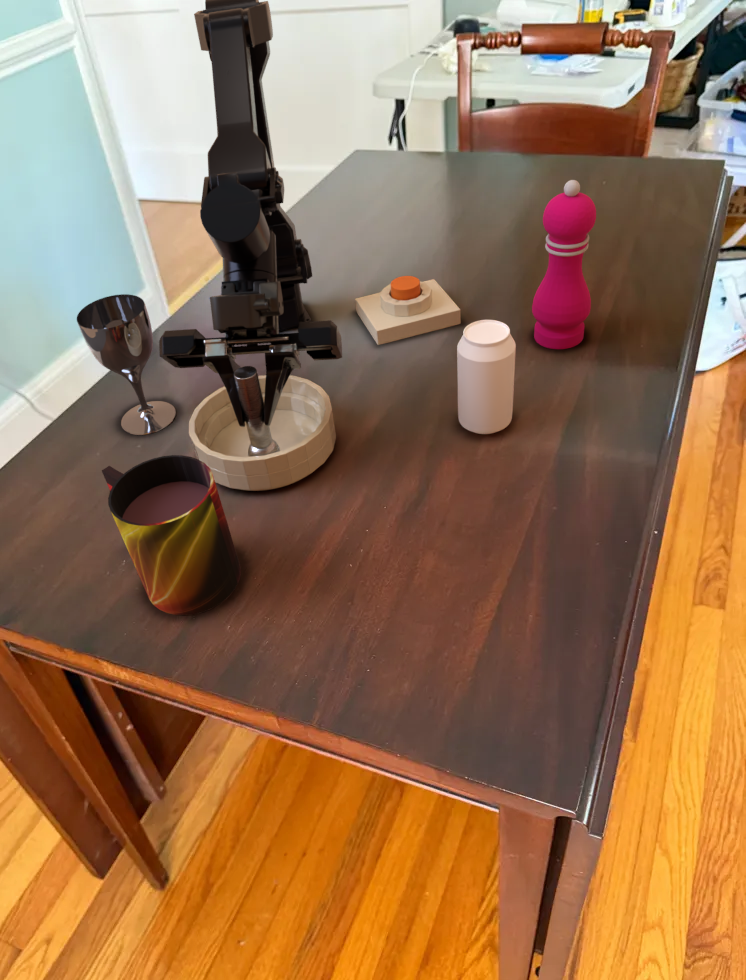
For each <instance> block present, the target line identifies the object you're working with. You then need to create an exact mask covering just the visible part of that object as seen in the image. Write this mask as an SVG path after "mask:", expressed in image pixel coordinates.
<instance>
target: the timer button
mask: <svg viewBox="0 0 746 980" xmlns="http://www.w3.org/2000/svg"><path fill="white" fill-rule="evenodd" d="M420 281H421V280H420V278H418V277H416V276H413V275H402V276H398V277H396V278H394V279H392V280H391V282H390V284H391V296H392V298H393V299H396V300H411V299H415V298H417V297H418V296H420Z"/></svg>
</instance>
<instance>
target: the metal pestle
mask: <svg viewBox="0 0 746 980" xmlns="http://www.w3.org/2000/svg"><path fill="white" fill-rule="evenodd" d="M240 367H241V368H239V369H237V370H236V371H235V372H234V378H235V382H236V386H237V390H238V394H239V398H240V402H241V406H242V410H243V414H244V418H245V422H246V426H247V430H248V434H249V438H250V442H251V444H250V446H249V448H248V457H253V456H264V455H268V454H272V453H275V452H279V451H280V448H279V445H278V444H277V442H276V441H275V440H273V439H272V436H271V432H270V427H269V426H266V425H265V422H264V400H263V396H262V391H261V387H260V382H259V378H258V376H259V374H258V370H257V368H256V367H255V366H253V365H244V366H240Z"/></svg>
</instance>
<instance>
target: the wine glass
mask: <svg viewBox="0 0 746 980" xmlns="http://www.w3.org/2000/svg"><path fill="white" fill-rule="evenodd" d="M76 322H77V325H78V328H79V330H80V333H81V336H82V338H83V340H84V342H85V344H86V346H87V347H88V349H89V351H90V353H91V354H92V355H93V357H94V358H95V360H96V361H97V362H98V363H99V364H100V365H101V366H103V367H104V368H105V369H107V370H109V371H111V372H113V373H115V374H118V375H119V376H121V377H123V378H125V379H126V380H127V381H128V382H129V384H130V385H131V387H132V388H133V390H134V392H135V394H136V396H137V399H138V402H139V404H138V405H136V406H134V407H132V408H130V409H129V410H128V411H126V413H125V414H124V415H123V416H122V418H121V422H120V426H121V428H122V430H123V431H124V432H125V433H127V434H130V435H134V436H135V435H136V436H137V435H138V436H142V435H143V436H144V435H149V434H153V433H157V432H160V431H161V430H163V429H165V428H167V427H168V426H169V425H170V424H171V423H172V422H173V421H174V420H175V418H176V416H177V410H176V408H175V406H174V405H173V404H171V403H169V402H167V401H163V400H152V401H147V400H146V397H145V393H144V389H143V384H142V375H143V372H144V369H145V366H146V365H147V363H148V361H149V359H150V357H151V355H152V352H153V349H154V336H153V329H152V323H151V320H150V316H149V312H148V308H147V306H146V303H145V301H144V299H143V298H141V297H140V296H138V295H134V294H128V293H126V294H125V293H123V294H122V293H121V294H113V295H109V296H104V297H101V298H99V299H96V300H94V301H92V302H90V303H89V304H87V305H85V306H84V307H83V308H82V309H80V311H79V312H78V313H77V315H76Z"/></svg>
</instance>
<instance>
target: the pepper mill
mask: <svg viewBox="0 0 746 980" xmlns="http://www.w3.org/2000/svg"><path fill="white" fill-rule="evenodd" d="M580 191H581V185H580V183H579V181H577V180H575V179H570V180H568V181H567V182H566V183H565V184H564V187H563V192H562V193H561V192H560V193H558V194H557V195H556V196H553V198H551V199H550V200H549V201H548V202H547V204H546V206H545V208H544V210H543V215H542V225H543V228H544V230H545V232H547V235H546V236H545V245H544V247H545V250H546V251H547V252H548V264H547V269H546V272H545V274H544V277H543V279H542V280H541V282H540V284H539V286H538V287H537V289H536V291H535V294H534V297H533V300H532V305H531V313H532V315H533V317H534V319H535V320H536V322H535V324H534V328H533V329H534V332H533V336H534V337H533V338H534V341H535V342H536V343H537V344H538V345H540V347H544V348H546V349H550V350H566V349H571V348H574V347H576V346H578V345H579V344H580V343H582V341H583V339H584V335H585V327H586V326H585V325H586V324H585V322H584V321H585V320H586V319H587V318H588V317H589V315H590V313H591V310H592V299H591V294H590V290H589V287H588V284H587V282H586V279H585V276H584V273H583V257H584V254H585V252H586V251H587V250H588V249H589V245H590V244H589V241H590V235H589V233H590V232H591V231H592V230H593V228H594V226H595V224H596V219H597V208H596V205H595V203H594V201H593V199H592V198H591V197H590V196H589V195H587V194H585V193H583V192H580Z"/></svg>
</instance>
